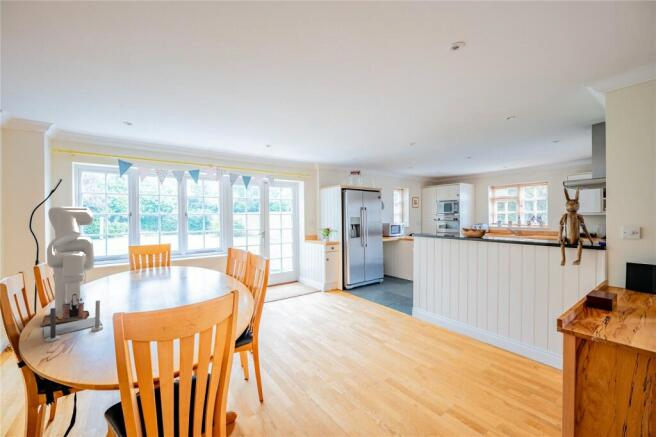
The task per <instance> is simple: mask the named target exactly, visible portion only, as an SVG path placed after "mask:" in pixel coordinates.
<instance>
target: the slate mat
mask: <svg viewBox="0 0 656 437" xmlns="http://www.w3.org/2000/svg"><path fill="white" fill-rule="evenodd" d="M99 326H103V323H102V322H101V321H100V323H99ZM92 327H95V316H94V317H90V318H89V317H88V318H87V319H84V320H79V321H74V322H69V323H64V324H58V325H56V336H61V335H65V334H69V333H68V332H70V333H73V331H74V332H77V331H82V330H86V329H91V328H92ZM60 334H61V335H60ZM43 335H44V336H43V337H44V339H47V338H48V337H50V326H46V327H43Z"/></svg>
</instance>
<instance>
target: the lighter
mask: <svg viewBox="0 0 656 437" xmlns="http://www.w3.org/2000/svg"><path fill="white" fill-rule="evenodd" d="M78 300H79V299H78ZM71 303H73V301H72V302H71ZM84 304H85V302H83V298H82V297H80V301H79V302H78V316H77V317H72V318H70V317H69V309H70V303H69V304H64V305H62V307H63V319H62V321H69V320H77V319H82V318H84V311H85V309H84ZM72 305H73V304H72Z"/></svg>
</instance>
